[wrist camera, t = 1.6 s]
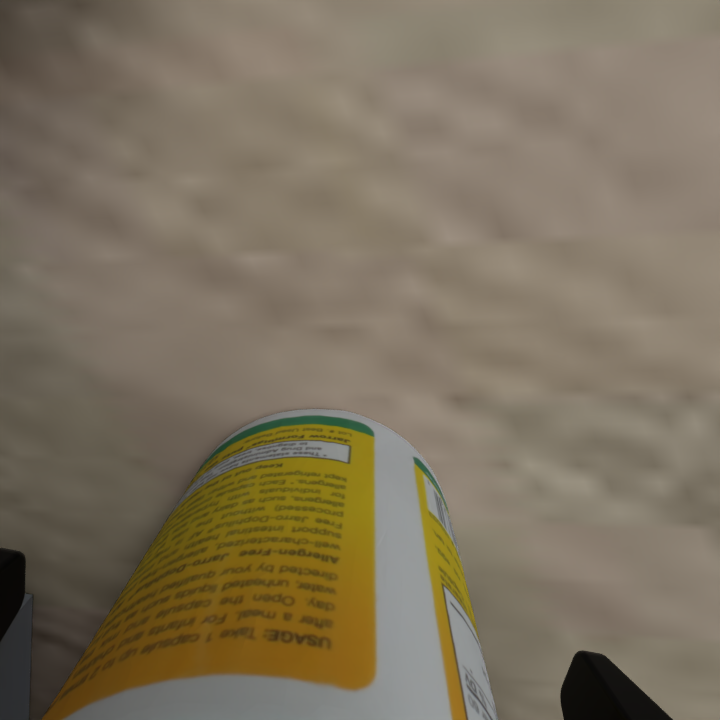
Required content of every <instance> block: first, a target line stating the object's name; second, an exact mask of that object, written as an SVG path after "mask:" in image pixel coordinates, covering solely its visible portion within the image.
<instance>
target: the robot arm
mask: <svg viewBox="0 0 720 720" xmlns="http://www.w3.org/2000/svg"><path fill="white" fill-rule="evenodd" d="M25 569H26V560H25V555H24V554H23V553H22V552H20V551H16V550H10V549H4V548H0V642H1V640H2V639H3V637H4V635H5V634H6V632H7V630H8V629H9V627H10V625H11V624H12V622H13V620H14V619H15V617H16V615H17V614H18V612H19V610H20V608H21V606H22V603H23V600H24V596H25ZM560 698H561V707H562V712H563V717H564V720H673V719H672V718H671V717H670V716H669V715H667V714H666V713H665V712H664V711H663V710H662V709H661V708H660V707H659V706H658V705H657V704H656V703H655V702H654V701H653V700H652V699H651V698H649V697H648V696H647V695H646V694H645V693H644V692H643V691H642V690H641V689H640V688H639V687H638V686H637V685H636V684H635V683H634V682H633V681H631V680H630V679H629V678H628V677H627V676H626V675H625V674H624V673H623V672H622V671H621V670H620V669H619V668H618V667H617V666H616V665H615V664H613V663H612V662H611V661H610V660H609V659H608V658H607V657H606V656H604V655H602V654H600V653H594V652H588V651H578V652H577V653H576V654H575V655H574V657H573V660H572V662H571V665H570V667H569V670H568V672H567V675H566V677H565V680H564V682H563V685H562V688H561V696H560Z"/></svg>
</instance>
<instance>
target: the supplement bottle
mask: <svg viewBox="0 0 720 720" xmlns="http://www.w3.org/2000/svg"><path fill="white" fill-rule="evenodd" d="M42 720H498V717H497V713H496V708H495V704H494V700H493V695H492V691H491V687H490V682H489V678H488V674H487V670H486V666H485V662H484V658H483V654H482V650H481V646H480V641H479V637H478V632H477V628H476V623H475V619H474V614H473V610H472V606H471V602H470V598H469V593H468V589H467V585H466V581H465V577H464V572H463V567H462V562H461V558H460V554H459V550H458V545H457V542H456V538H455V535H454V531H453V528H452V524H451V520H450V516H449V512H448V508H447V504H446V500H445V497H444V494H443V491H442V489H441V487H440V485H439V482H438V480H437V478H436V476H435V475H434V473H433V471H432V469H431V468H430V466H429V465H428V463H427V462H426V461H425V459H424V458H423V457H422V456H421V455H420V454H419V452H418V451H417V450H416V449H415V448H414V447H413V446H412V445H410V444H409V443H408V442H407V441H406V440H405V439H404V438H403V437H401V436H400V435H398V434H397V433H396V432H394V431H393V430H391V429H389V428H388V427H386V426H384V425H383V424H380V423H378V422H376V421H374V420H372V419H369V418H366V417H364V416H361V415H358V414H355V413H353V412H349V411H342V410H329V409H302V410H294V411H286V412H281V413H276V414H273V415H270V416H266V417H263V418H261V419H258V420H256V421H254V422H252V423H250V424H248V425H246V426H244V427H242V428H241V429H239V430H237V431H236V432H234V433H233V434H232V435H230V436H229V437H228V438H227V439H225V440H224V441H223V442H222V443H221V444H220V445H219V446H218V447H217V448H216V449H215V450H214V451H213V452H212V453H211V454H210V456H209V457H208V458H207V460H206V461H205V462H204V464H203V465H202V467H201V468H200V469H199V471H198V472H197V474H196V475H195V477H194V478H193V480H192V481H191V483H190V485H189V486H188V488H187V489H186V491H185V493H184V494H183V496H182V498H181V499H180V501H179V502H178V504H177V505H176V507H175V508H174V510H173V511H172V513H171V514H170V516H169V517H168V519H167V521H166V522H165V524H164V525H163V527H162V529H161V531H160V532H159V534H158V535H157V537H156V538H155V540H154V542H153V543H152V545H151V546H150V548H149V549H148V551H147V553H146V554H145V556H144V558H143V559H142V561H141V562H140V564H139V566H138V567H137V569H136V570H135V572H134V574H133V575H132V577H131V578H130V580H129V582H128V583H127V585H126V587H125V588H124V590H123V592H122V593H121V595H120V596H119V598H118V600H117V601H116V603H115V605H114V606H113V608H112V609H111V611H110V612H109V614H108V616H107V617H106V619H105V620H104V622H103V623H102V625H101V627H100V628H99V630H98V632H97V633H96V635H95V637H94V638H93V640H92V641H91V643H90V645H89V646H88V648H87V649H86V651H85V653H84V654H83V656H82V657H81V659H80V660H79V662H78V663H77V665H76V667H75V668H74V670H73V671H72V673H71V674H70V676H69V678H68V679H67V681H66V682H65V684H64V686H63V687H62V689H61V690H60V692H59V693H58V695H57V697H56V698H55V700H54V701H53V703H52V704H51V706H50V707H49V709H48V710H47V712H46V714H45V715H44V717H43V718H42Z"/></svg>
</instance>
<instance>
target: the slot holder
mask: <svg viewBox="0 0 720 720" xmlns="http://www.w3.org/2000/svg"><path fill="white" fill-rule="evenodd" d="M32 603H33V595H31V594H25V596H24V600H23V603H22V606H21V608H20V610H19V612H18V614H17V615H16V617H15V619H14V620H13V622H12V624H11V625H10V627H9V629H8V630H7V632H6V634H5V635H4V637H3V639H2V640H1V642H0V720H29V702H30V669H31V636H32Z"/></svg>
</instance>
